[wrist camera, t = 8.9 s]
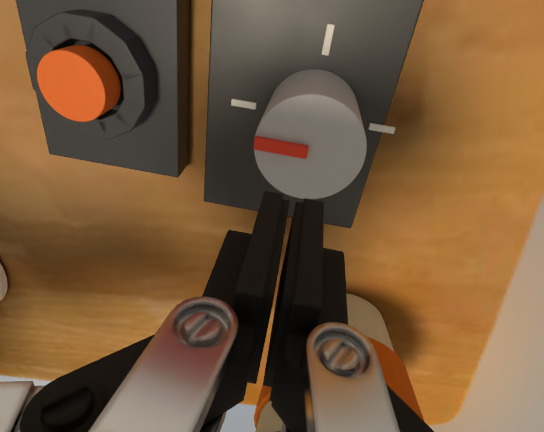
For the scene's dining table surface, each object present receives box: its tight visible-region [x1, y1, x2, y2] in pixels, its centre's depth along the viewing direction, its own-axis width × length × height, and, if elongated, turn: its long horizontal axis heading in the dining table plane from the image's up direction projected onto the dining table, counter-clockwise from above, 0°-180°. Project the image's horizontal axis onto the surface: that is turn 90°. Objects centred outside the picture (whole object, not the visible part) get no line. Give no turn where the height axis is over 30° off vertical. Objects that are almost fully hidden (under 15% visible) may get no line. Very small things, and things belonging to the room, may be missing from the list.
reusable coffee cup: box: [254, 293, 424, 432], centre depth 28 cm, size 13×13×15 cm
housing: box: [16, 0, 190, 177], centre depth 22 cm, size 12×9×4 cm
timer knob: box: [253, 69, 367, 199], centre depth 18 cm, size 5×5×5 cm
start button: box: [37, 45, 121, 122], centre depth 20 cm, size 4×4×2 cm
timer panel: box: [204, 0, 424, 228], centre depth 22 cm, size 14×11×3 cm
